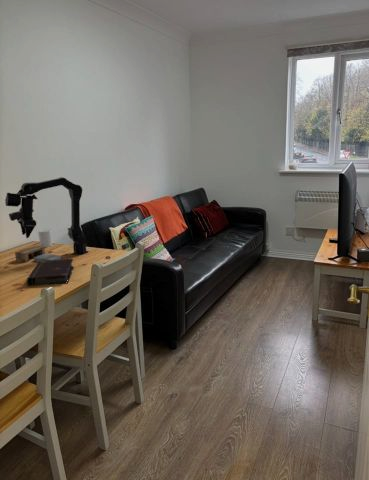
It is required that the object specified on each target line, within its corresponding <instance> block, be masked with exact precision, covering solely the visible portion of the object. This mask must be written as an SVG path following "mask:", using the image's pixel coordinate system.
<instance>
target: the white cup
mask: <svg viewBox="0 0 369 480" xmlns="http://www.w3.org/2000/svg"><path fill="white" fill-rule="evenodd" d="M52 231H53V230H52V229H51V228H46V229H45V228H43V229H39V230H38V231H37V233H38V238H39V239H38V240H39V246H44V247H45V248H50V247H53V232H52Z"/></svg>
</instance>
